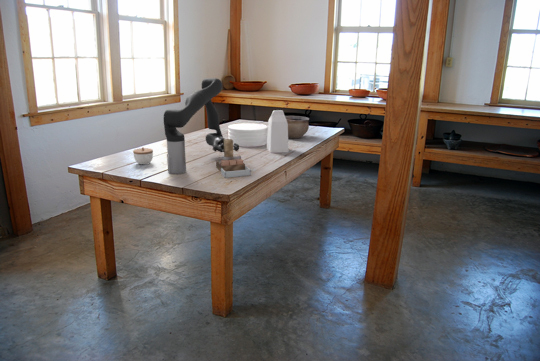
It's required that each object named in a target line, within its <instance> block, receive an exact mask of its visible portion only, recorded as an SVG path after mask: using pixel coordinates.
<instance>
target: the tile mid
mask: <svg viewBox="0 0 540 361" xmlns="http://www.w3.org/2000/svg"><path fill="white" fill-rule="evenodd" d="M228 161H229V165H236V160H228Z"/></svg>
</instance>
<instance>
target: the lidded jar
mask: <svg viewBox="0 0 540 361" xmlns="http://www.w3.org/2000/svg"><path fill="white" fill-rule="evenodd" d="M132 152H133V158H134V160H135V162H136V163H137V164H138V165H139V164H147V165H149V164H150V163H151V162H152V161H153V156H154V153H153V152H154V150H153V149H152V148H146V147H143V146H141V148H137V149H134V150H132ZM148 163H149V164H148Z"/></svg>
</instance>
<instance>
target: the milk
mask: <svg viewBox="0 0 540 361" xmlns="http://www.w3.org/2000/svg"><path fill="white" fill-rule="evenodd" d="M285 116H286V115H285V113H284V110H283V109H282V110H281V109H280V110H279V109H276V110H273V111H272V113H271V115H270V117H269V119H268V120H267V126H268V135H267V144H266V150H267V151H268V152H269V153H271V154H272V153H274V154H275V153H289V138H288V123H287V120H286V118H285Z"/></svg>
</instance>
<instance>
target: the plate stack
mask: <svg viewBox="0 0 540 361" xmlns="http://www.w3.org/2000/svg"><path fill="white" fill-rule="evenodd" d="M227 129H228V130H227V133H228V134H227V137H228V138H227V139H232V140H233V145H234V143H236V144H238V145H239V147H242V148H243V147H249V148H250V147H261V146H265V145H266V146H267V135H268V124H267V125H266V124H262V123H252V122H243V123H240V122H239V123H233V124H229V125H228V126H227Z"/></svg>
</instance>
